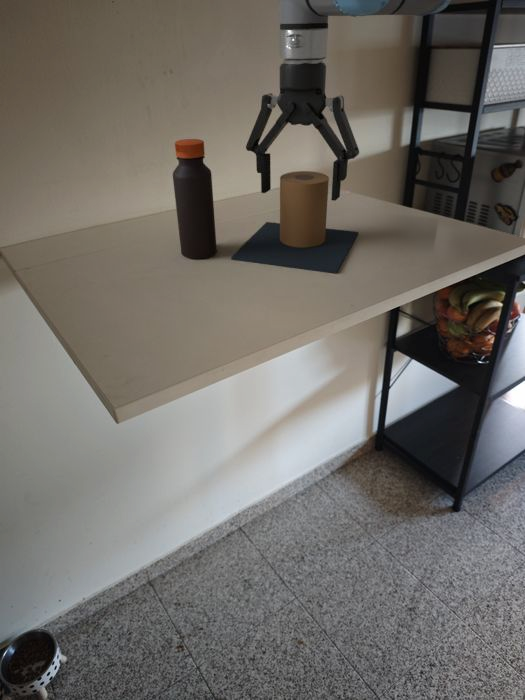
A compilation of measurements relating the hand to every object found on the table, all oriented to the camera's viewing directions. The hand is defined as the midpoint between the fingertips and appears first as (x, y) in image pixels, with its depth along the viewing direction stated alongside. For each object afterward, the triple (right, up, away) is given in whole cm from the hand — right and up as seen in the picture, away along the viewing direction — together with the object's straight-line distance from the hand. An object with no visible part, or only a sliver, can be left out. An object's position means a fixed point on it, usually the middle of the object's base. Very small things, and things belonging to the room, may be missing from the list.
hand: (299, 194), depth 92 cm
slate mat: (0, -8, +6) cm, 10 cm away
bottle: (-19, -10, +4) cm, 22 cm away
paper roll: (+1, -2, +4) cm, 4 cm away
